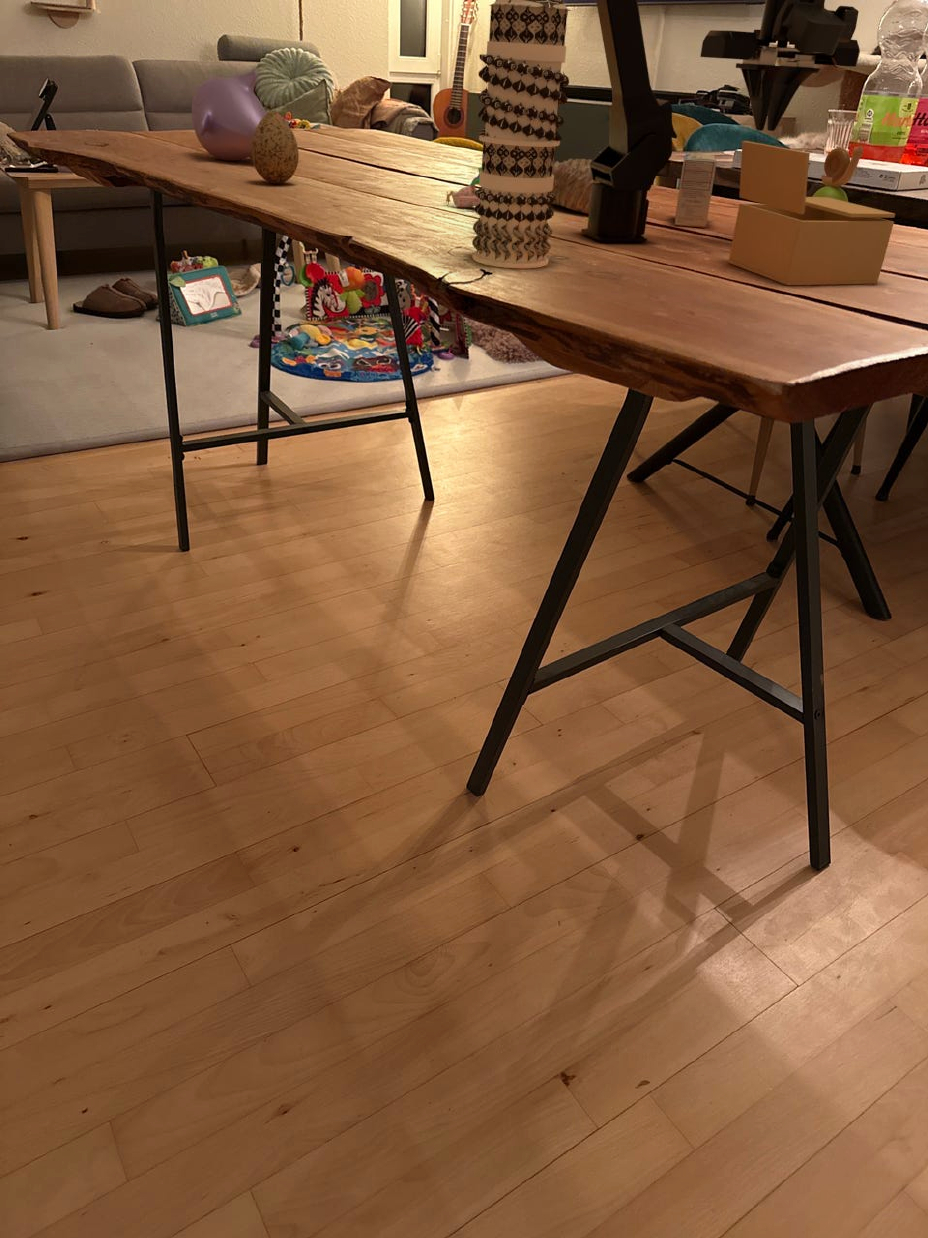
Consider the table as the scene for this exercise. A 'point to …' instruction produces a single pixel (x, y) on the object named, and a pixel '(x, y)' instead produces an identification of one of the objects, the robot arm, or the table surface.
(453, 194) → the pink radish
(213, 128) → the toy whale
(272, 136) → the decorative egg
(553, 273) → the table surface
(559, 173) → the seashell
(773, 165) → the flap
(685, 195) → the medicine box
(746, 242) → the carton
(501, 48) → the bracelet display stand
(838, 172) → the snail figurine
